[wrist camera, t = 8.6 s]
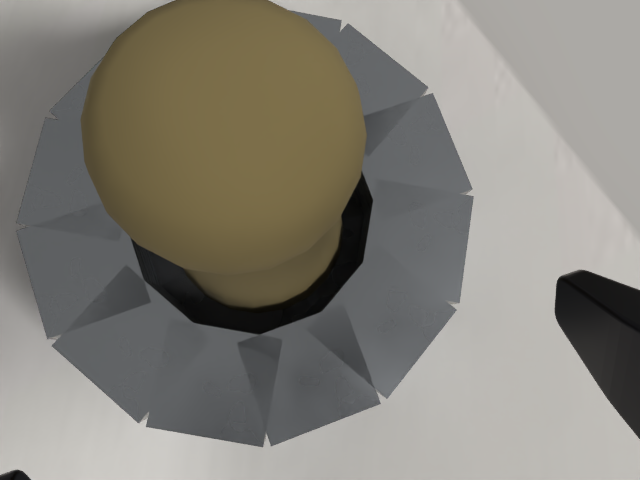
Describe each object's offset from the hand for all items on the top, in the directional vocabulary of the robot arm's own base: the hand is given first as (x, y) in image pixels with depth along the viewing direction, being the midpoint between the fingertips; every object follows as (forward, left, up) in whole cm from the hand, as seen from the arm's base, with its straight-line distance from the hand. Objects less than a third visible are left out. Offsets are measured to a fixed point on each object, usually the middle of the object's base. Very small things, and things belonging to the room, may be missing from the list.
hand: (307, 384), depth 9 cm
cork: (+2, -4, -10) cm, 11 cm away
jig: (+2, -4, -11) cm, 12 cm away
